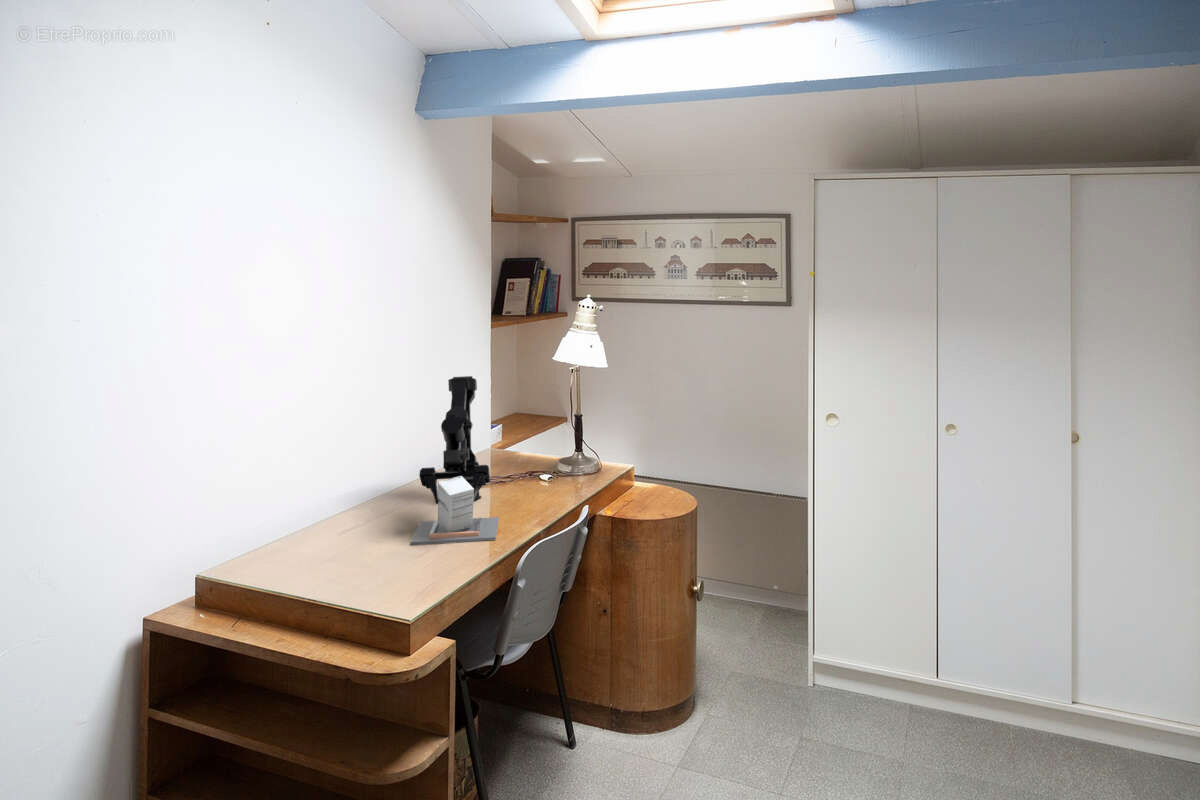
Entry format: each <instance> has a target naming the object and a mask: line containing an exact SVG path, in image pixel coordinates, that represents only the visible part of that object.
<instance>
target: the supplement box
mask: <svg viewBox="0 0 1200 800" xmlns="http://www.w3.org/2000/svg"><path fill="white" fill-rule="evenodd" d="M437 492H438V504H437V520H438V521H439V522H440V523H441V524H442V525H443V526H444V527H445V529H446V530H447V531H448V533H449V532H456V531H460V530H463V529H466V528H469V527H472V526H473V518H474V502H475V501H474V488H473V487H472V486H471V485H470V484H469V483H468V482H467V481H466V480H465V479H464V478H463V477H462V476H458V477H454V478H451V479H443V480H440V481H439V482H438V481H437Z"/></svg>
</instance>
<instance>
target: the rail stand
mask: <svg viewBox="0 0 1200 800" xmlns="http://www.w3.org/2000/svg"><path fill="white" fill-rule="evenodd" d="M499 520H500V516H494V517H492V516H491V517H478V518H477V517H476V518H474V517H473V526H472V527H469V528H466V529H463V530H460V531H456V532H449V533H448V531H447V530H446V529H445V527H444V526H443V525H442V524H441V523H440V522H439V521H438V519H436V520H424V521H420V522H419V523H418V526H417V528H416V530H415V532H414V534H413V537H412V538H411V540H410V546H418V545H420V544H422V545H433V544H432V543H439V544H452V543H453V542H456V543H467V542H468V543H471V542H470V541H474V542H485V541H484V540H491V541H496V540H497V533H498V529H497V528H499V522H498V521H499ZM450 542H452V543H450Z"/></svg>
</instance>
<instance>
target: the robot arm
mask: <svg viewBox="0 0 1200 800" xmlns="http://www.w3.org/2000/svg"><path fill="white" fill-rule="evenodd" d="M477 382H478V381H477V379H476V378H473V375H471V376H470V375H467V376H466V375H465V376H453V377H452V378H450V379H448V391H449V392H451V400H450V401H451V402H450V409H449V410H448V411H447V412H446V413H445V416H444V417H445V419H443V420H442V422H441V425H440V426H441V427H440V428H441V432H442V435H443V440H444V441H445V450H443V452H442V453H443V454H442V455H443V470H444V471H436V469H435V466H434V467H433V466H432V467H422V468H421V469H420V470H419V480H420V482H421V486H422V487H425V489H428V490H430V491H431V494H432V495H433V499H434V503H435V504H436V505H438V480H447V479H451V478H454V477H458V476H462V477H463V478H464V479H465V480H466V481H467V482H468V483H469V484H470V485H471V486H472V487H473V488H474V500H475V501H477V500H479V499H481V498H482V495H480V490H481V489H482V487H483V486H486V484H489V483H491V473H490V466H489V465H488V464H479V462H478V461H477V456H476V455H475V454H474V452H473V450H472V428H473V425H474V424H473V422H472V420H471V404H472V403H473V401H474V399H475V397H476V391H477V390H478V383H477Z"/></svg>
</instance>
